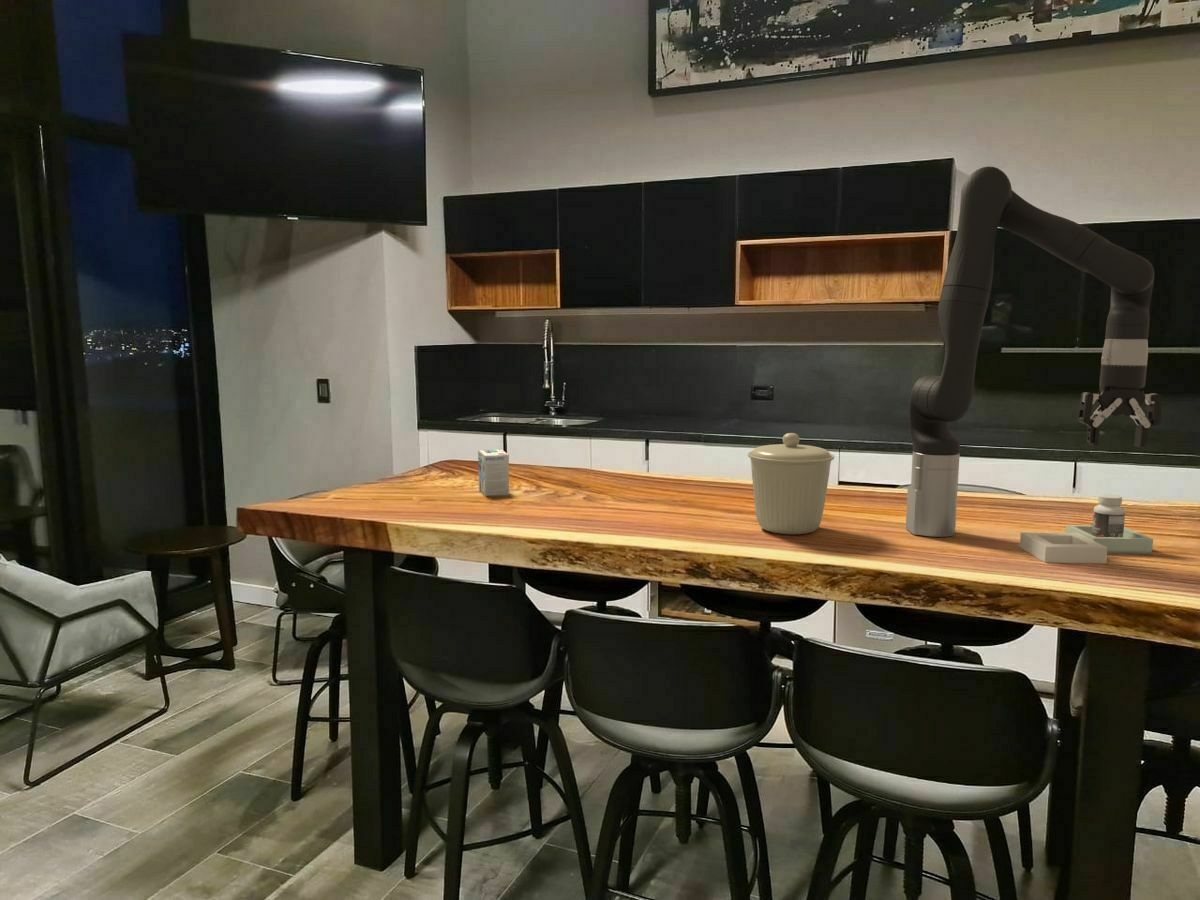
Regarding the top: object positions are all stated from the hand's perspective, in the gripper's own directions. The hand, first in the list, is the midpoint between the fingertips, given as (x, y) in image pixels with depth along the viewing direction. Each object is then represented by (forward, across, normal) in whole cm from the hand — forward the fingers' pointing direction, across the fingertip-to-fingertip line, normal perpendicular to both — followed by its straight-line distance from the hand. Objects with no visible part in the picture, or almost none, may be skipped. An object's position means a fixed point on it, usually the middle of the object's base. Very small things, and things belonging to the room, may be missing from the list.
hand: (1116, 446), depth 165 cm
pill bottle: (+20, 0, 0) cm, 20 cm away
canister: (+21, -61, +11) cm, 65 cm away
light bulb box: (+22, -133, +49) cm, 144 cm away
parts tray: (+20, 0, 0) cm, 20 cm away
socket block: (+20, -12, -7) cm, 24 cm away
